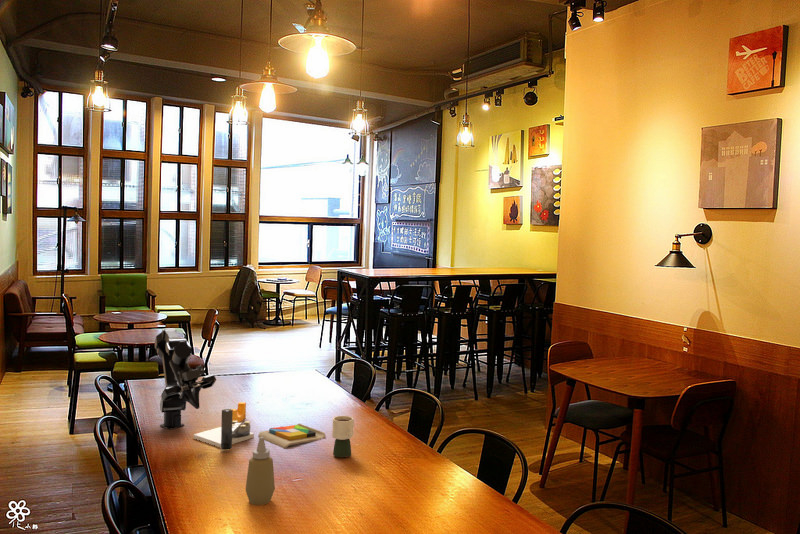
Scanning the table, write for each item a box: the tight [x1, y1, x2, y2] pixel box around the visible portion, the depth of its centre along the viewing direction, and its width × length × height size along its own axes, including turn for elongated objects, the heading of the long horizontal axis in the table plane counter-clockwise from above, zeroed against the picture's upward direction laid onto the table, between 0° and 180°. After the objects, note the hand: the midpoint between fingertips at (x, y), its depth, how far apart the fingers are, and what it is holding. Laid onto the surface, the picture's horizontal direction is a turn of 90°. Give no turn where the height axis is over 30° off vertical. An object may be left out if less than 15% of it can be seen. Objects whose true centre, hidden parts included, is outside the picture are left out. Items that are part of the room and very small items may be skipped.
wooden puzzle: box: [258, 423, 326, 449], centre depth 229 cm, size 18×19×4 cm
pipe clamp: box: [231, 401, 247, 422], centre depth 245 cm, size 12×4×6 cm, turn 174°
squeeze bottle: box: [245, 437, 276, 506], centre depth 173 cm, size 8×8×18 cm
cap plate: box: [193, 426, 255, 449], centre depth 225 cm, size 15×15×2 cm
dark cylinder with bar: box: [220, 408, 251, 451], centre depth 220 cm, size 8×19×13 cm, turn 176°
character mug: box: [331, 415, 355, 459], centre depth 211 cm, size 11×7×13 cm, turn 33°
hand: (198, 408), depth 219 cm, fingers closed
